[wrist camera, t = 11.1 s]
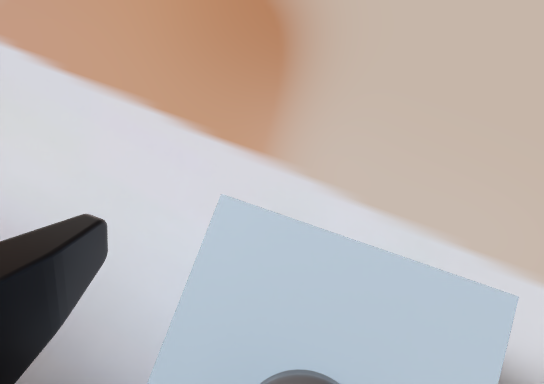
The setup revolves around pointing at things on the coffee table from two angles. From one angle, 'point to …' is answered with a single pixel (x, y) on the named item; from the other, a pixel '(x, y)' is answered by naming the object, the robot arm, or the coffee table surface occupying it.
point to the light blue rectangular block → (325, 312)
